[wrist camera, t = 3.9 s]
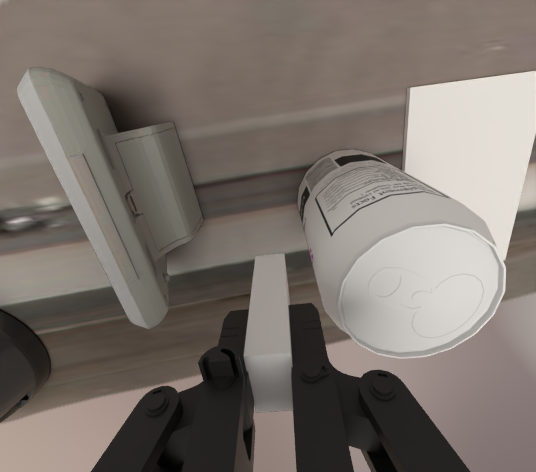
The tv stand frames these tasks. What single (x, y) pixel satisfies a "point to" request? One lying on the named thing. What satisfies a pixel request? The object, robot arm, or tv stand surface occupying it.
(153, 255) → the digital clock
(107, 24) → the tv stand surface
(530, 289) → the tv stand surface
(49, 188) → the tv stand surface
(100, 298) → the tv stand surface
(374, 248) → the supplement can
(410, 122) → the mat
